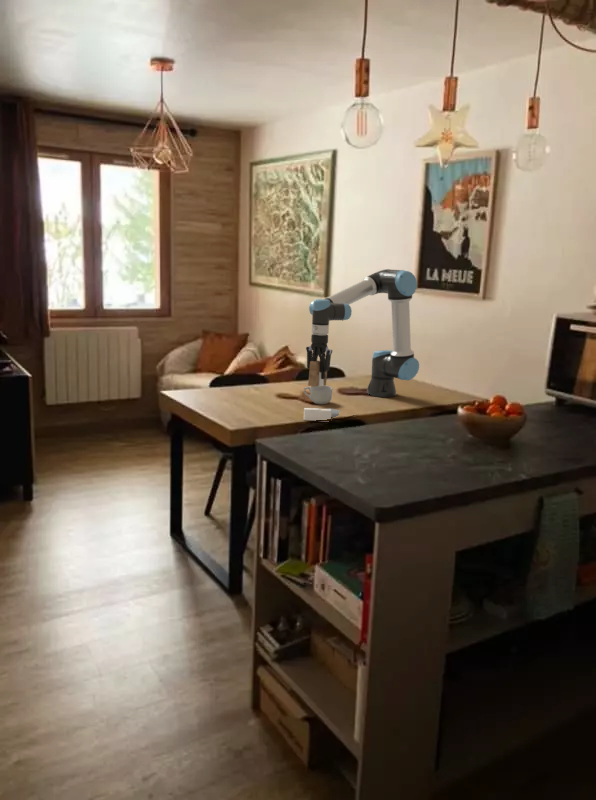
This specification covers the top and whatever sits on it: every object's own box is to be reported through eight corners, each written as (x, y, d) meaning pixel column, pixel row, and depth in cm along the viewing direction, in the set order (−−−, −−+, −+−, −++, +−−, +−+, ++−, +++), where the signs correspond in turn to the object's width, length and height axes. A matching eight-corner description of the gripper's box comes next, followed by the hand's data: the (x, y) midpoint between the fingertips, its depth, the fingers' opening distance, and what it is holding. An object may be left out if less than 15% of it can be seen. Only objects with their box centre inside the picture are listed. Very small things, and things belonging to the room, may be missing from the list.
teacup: (334, 402, 330) (335, 386, 328) (328, 406, 320) (329, 390, 318) (307, 399, 334) (308, 383, 332) (300, 403, 324) (301, 387, 322)
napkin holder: (296, 420, 293) (297, 408, 292) (310, 416, 302) (311, 403, 301) (325, 427, 285) (326, 414, 284) (339, 422, 294) (340, 409, 293)
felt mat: (329, 408, 315) (329, 408, 315) (357, 415, 306) (357, 414, 306) (310, 413, 305) (311, 412, 304) (339, 420, 295) (340, 419, 295)
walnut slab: (320, 383, 313) (321, 360, 311) (326, 385, 311) (328, 361, 309) (308, 385, 306) (310, 361, 304) (314, 386, 304) (316, 362, 302)
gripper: (300, 332, 306) (297, 383, 311) (329, 336, 296) (326, 389, 301) (310, 331, 312) (307, 381, 317) (339, 335, 302) (336, 387, 307)
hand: (317, 385), depth 309 cm, fingers closed on walnut slab, 3 cm apart
